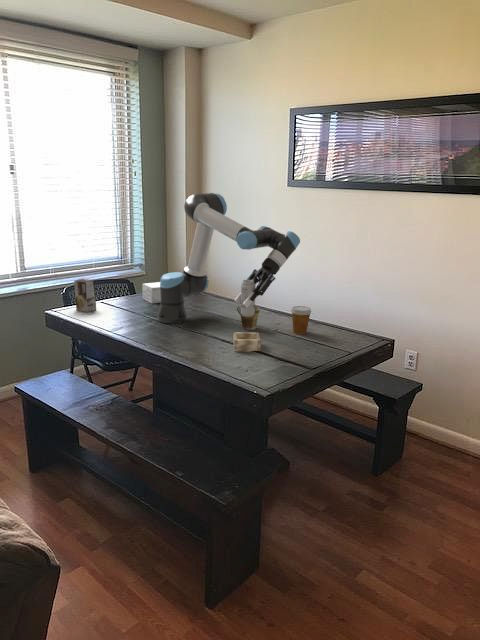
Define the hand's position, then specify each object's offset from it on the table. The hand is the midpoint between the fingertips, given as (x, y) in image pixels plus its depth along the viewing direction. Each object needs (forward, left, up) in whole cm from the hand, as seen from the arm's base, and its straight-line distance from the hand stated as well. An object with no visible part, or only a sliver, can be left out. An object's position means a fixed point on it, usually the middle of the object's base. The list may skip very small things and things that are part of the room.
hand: (240, 304), depth 222 cm
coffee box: (-79, +61, -20) cm, 102 cm away
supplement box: (-42, +86, -20) cm, 98 cm away
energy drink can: (+3, +2, -6) cm, 7 cm away
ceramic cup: (+5, +32, -20) cm, 38 cm away
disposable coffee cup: (+30, +24, -20) cm, 43 cm away
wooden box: (+3, +2, -20) cm, 20 cm away
